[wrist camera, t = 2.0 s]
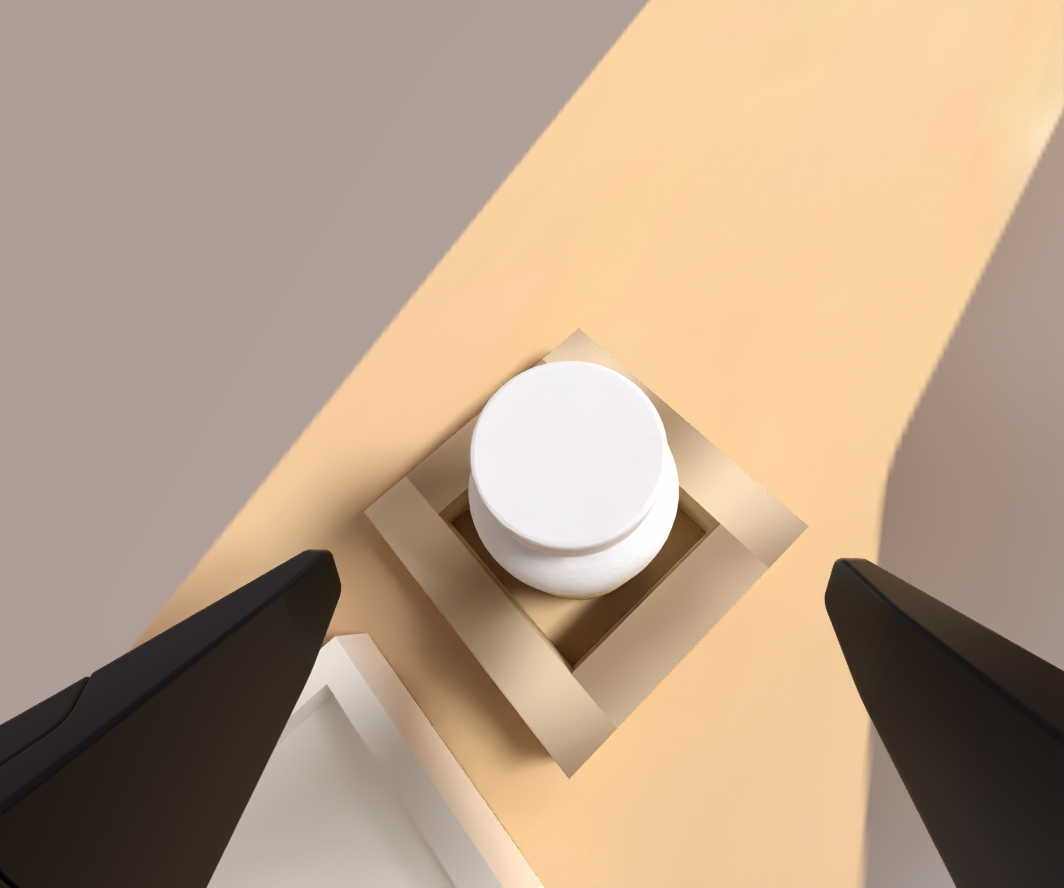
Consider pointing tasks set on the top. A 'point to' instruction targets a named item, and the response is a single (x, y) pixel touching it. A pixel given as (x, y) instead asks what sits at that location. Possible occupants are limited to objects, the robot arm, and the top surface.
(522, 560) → the supplement bottle
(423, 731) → the plastic tray
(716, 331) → the top surface
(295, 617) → the robot arm
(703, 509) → the wooden square frame
